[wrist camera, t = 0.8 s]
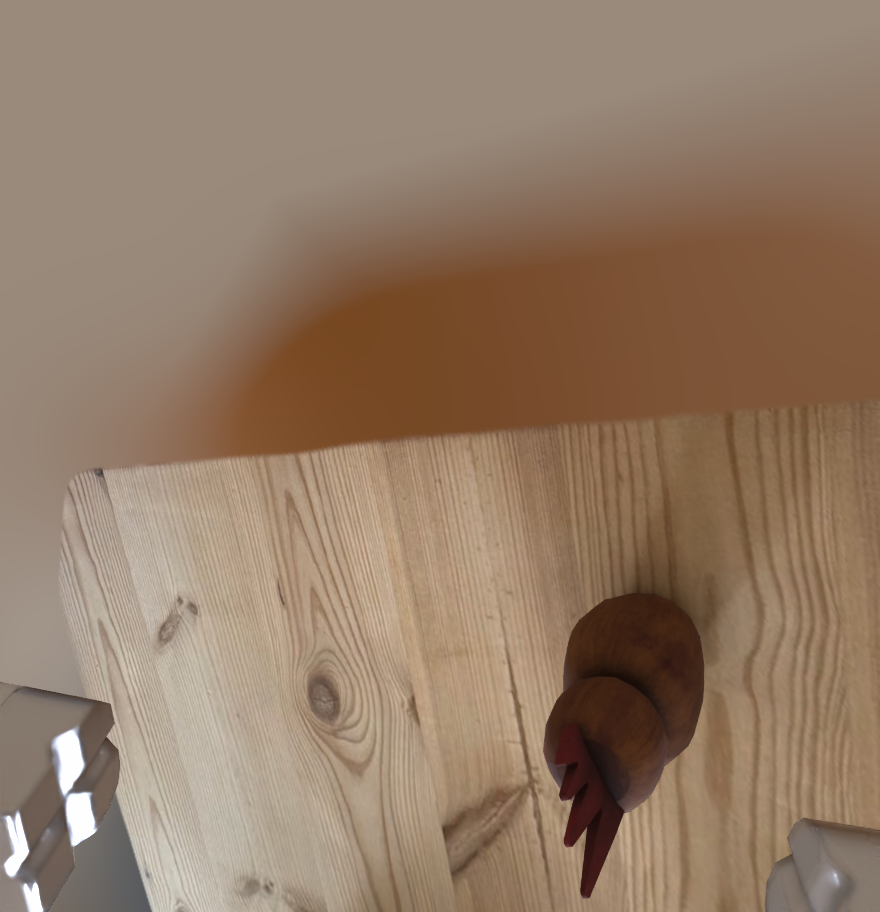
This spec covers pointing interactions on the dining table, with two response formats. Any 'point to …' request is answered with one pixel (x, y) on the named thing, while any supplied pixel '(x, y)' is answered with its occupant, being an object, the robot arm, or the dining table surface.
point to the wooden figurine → (621, 714)
